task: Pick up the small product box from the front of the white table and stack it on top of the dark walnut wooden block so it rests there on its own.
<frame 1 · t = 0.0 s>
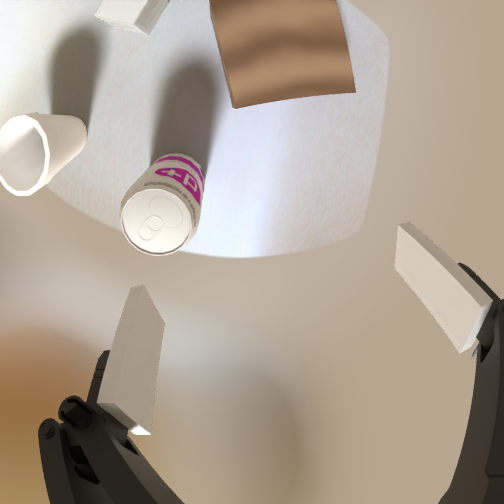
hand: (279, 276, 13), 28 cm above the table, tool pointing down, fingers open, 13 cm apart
walnut block: (273, 51, 30), on the table
product box: (141, 14, 25), on the table
supplement can: (176, 179, 38), on the table
foam cup: (70, 136, 32), on the table
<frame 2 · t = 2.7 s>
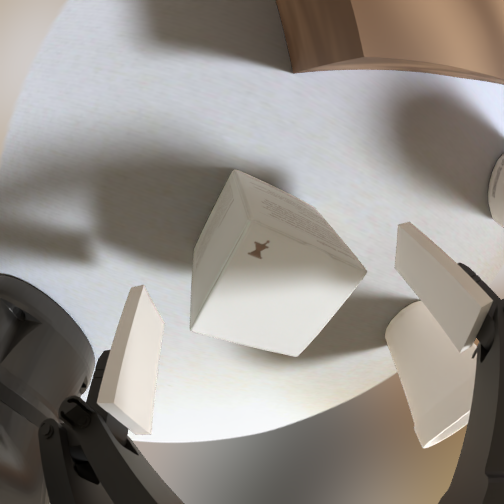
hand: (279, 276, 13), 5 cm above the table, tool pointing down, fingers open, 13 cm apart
product box: (254, 226, 18), on the table
supplement can: (503, 183, 19), on the table
foam cup: (408, 321, 26), on the table
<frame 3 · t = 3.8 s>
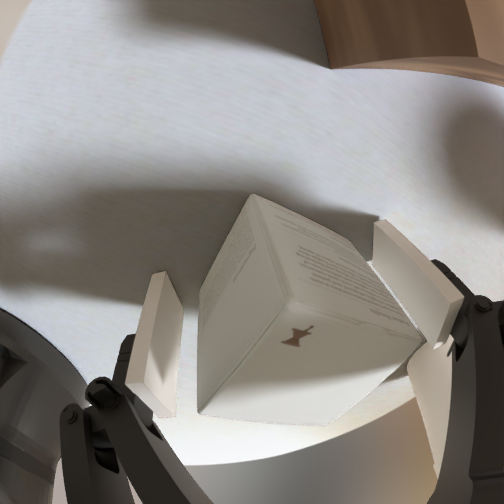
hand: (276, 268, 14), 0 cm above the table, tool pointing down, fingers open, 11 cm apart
product box: (274, 263, 15), on the table
foam cup: (431, 351, 22), on the table
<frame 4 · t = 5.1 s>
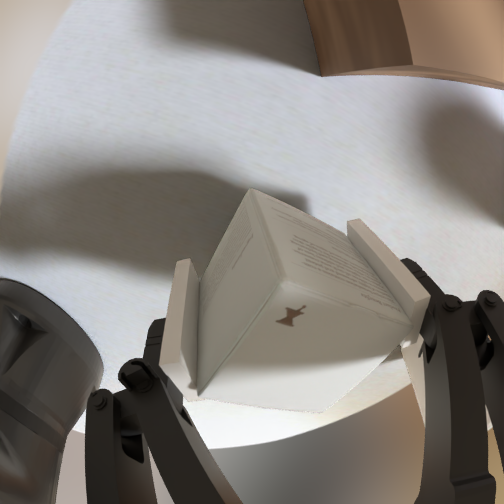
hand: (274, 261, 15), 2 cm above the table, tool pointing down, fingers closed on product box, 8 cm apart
product box: (272, 255, 15), point 2 cm above the table, touching gripper
foam cup: (424, 334, 24), on the table
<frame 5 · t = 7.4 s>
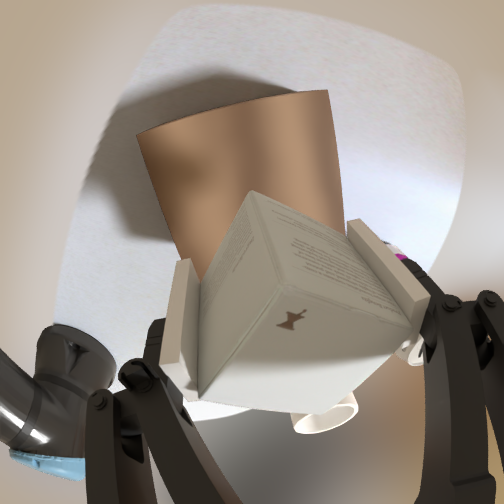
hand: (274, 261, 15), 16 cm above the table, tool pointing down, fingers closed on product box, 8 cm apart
walnut block: (243, 170, 28), on the table
product box: (272, 257, 15), point 15 cm above the table, touching gripper
supplement can: (376, 266, 37), on the table
foam cup: (304, 352, 44), on the table
when the fingers open (9 cm above the table, at t = 9.5 s): product box stays where it is, resting on walnut block.
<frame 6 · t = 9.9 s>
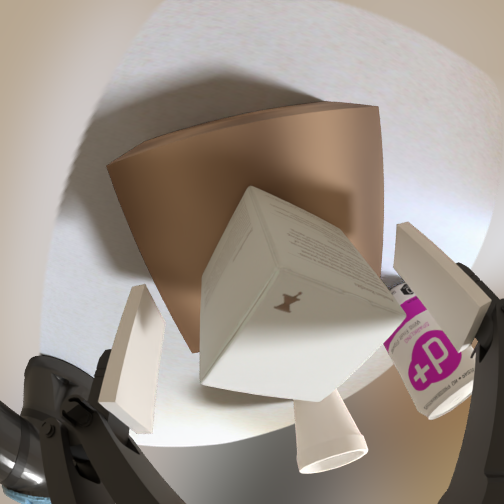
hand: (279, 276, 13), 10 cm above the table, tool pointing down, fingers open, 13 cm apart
walnut block: (254, 200, 22), on the table
product box: (271, 250, 16), point 8 cm above the table, touching walnut block
supplement can: (397, 303, 31), on the table
foam cup: (312, 387, 39), on the table
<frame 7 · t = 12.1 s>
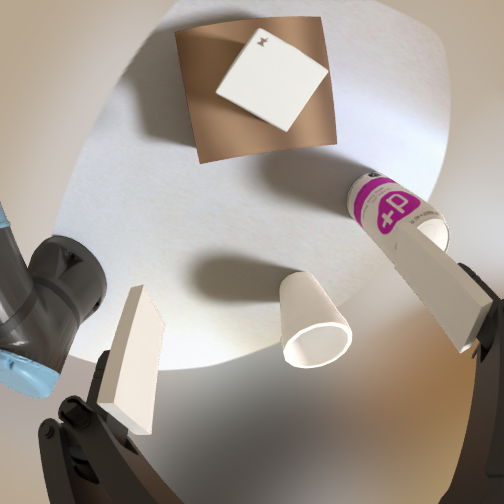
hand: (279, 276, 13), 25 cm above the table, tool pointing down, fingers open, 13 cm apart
walnut block: (252, 87, 29), on the table
product box: (260, 83, 23), point 8 cm above the table, touching walnut block
supplement can: (368, 196, 38), on the table
foam cup: (297, 286, 46), on the table
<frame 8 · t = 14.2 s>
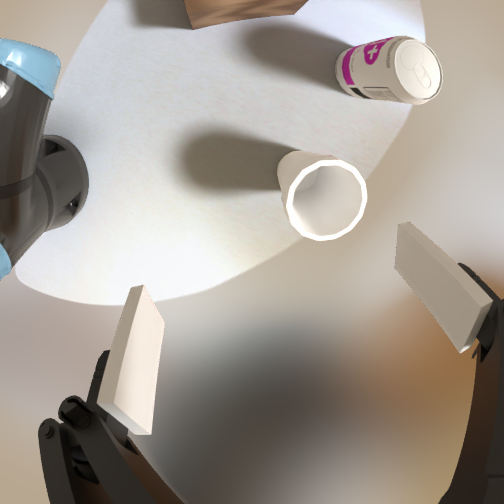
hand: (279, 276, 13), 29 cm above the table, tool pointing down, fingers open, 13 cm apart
supplement can: (357, 73, 33), on the table
foam cup: (297, 170, 40), on the table
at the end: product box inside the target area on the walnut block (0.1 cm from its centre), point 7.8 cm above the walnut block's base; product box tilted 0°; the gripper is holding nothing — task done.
